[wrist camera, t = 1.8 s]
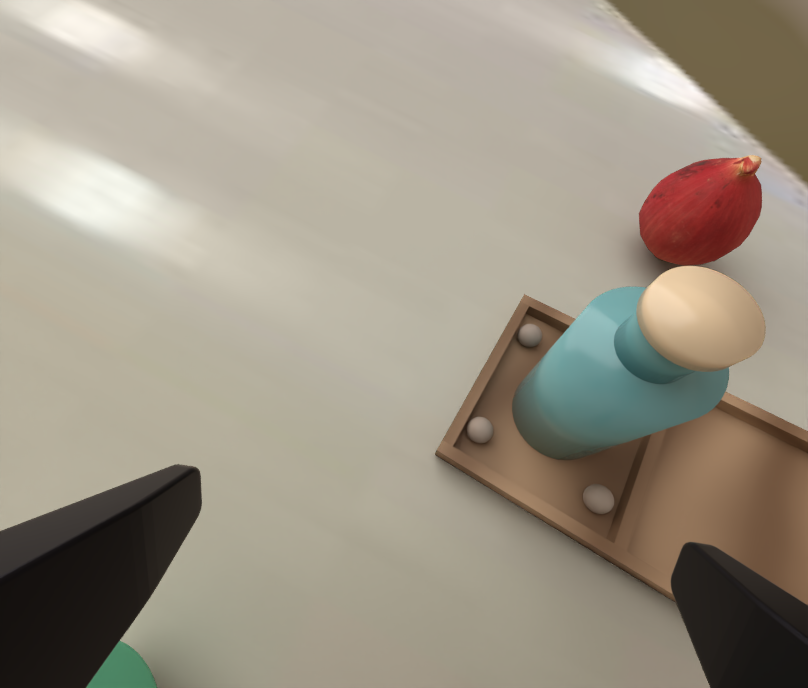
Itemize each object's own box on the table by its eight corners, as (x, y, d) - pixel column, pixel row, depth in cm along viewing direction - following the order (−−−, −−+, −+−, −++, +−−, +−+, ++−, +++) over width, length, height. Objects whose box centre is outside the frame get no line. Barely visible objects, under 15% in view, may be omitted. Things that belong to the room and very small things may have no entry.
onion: (598, 241, 27) (669, 139, 20) (658, 210, 28) (745, 104, 21) (658, 303, 25) (762, 214, 18) (720, 267, 26) (841, 170, 19)
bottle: (625, 424, 21) (841, 332, 11) (557, 480, 20) (727, 437, 10) (559, 353, 23) (690, 215, 13) (493, 400, 22) (577, 291, 11)
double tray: (839, 464, 21) (874, 459, 19) (809, 684, 17) (850, 700, 16) (518, 305, 25) (525, 291, 24) (435, 454, 21) (437, 449, 20)
